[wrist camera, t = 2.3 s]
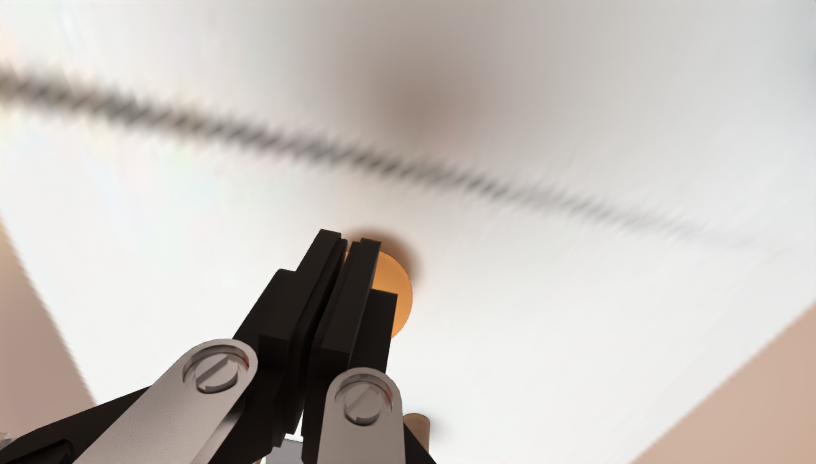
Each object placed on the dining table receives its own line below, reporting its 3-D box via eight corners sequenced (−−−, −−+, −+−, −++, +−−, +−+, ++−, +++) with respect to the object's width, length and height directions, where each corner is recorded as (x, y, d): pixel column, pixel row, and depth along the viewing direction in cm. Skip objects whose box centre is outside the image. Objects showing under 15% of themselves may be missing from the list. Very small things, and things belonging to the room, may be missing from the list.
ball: (333, 221, 24) (303, 278, 19) (424, 242, 24) (419, 304, 19) (325, 292, 27) (297, 358, 22) (406, 309, 27) (397, 379, 22)
